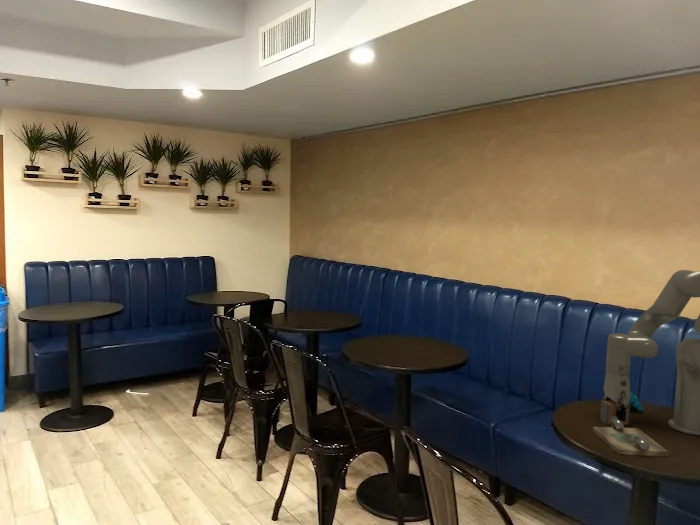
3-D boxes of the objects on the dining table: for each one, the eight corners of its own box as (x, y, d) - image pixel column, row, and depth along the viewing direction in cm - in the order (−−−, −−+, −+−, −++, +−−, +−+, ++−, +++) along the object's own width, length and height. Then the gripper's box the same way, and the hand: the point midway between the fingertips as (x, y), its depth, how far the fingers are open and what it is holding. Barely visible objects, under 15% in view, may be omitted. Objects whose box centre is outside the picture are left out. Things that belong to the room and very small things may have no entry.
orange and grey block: (622, 420, 189) (623, 401, 188) (628, 424, 184) (629, 405, 184) (600, 419, 189) (601, 400, 189) (605, 424, 185) (607, 404, 184)
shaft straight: (640, 443, 164) (641, 436, 164) (649, 450, 159) (649, 443, 159) (632, 443, 164) (633, 436, 164) (641, 450, 159) (641, 442, 159)
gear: (642, 411, 193) (623, 388, 198) (628, 419, 196) (610, 396, 201) (648, 407, 202) (629, 385, 206) (635, 415, 204) (617, 393, 209)
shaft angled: (616, 425, 179) (617, 415, 179) (624, 431, 174) (625, 421, 173) (609, 425, 179) (610, 414, 179) (617, 431, 174) (618, 420, 173)
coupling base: (637, 432, 178) (637, 423, 177) (667, 456, 160) (668, 445, 159) (592, 431, 178) (593, 421, 178) (618, 454, 160) (619, 444, 160)
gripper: (641, 376, 176) (637, 425, 178) (616, 362, 194) (613, 407, 195) (618, 375, 177) (615, 425, 178) (596, 361, 194) (593, 406, 195)
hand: (614, 415), depth 187 cm, fingers open, 8 cm apart
